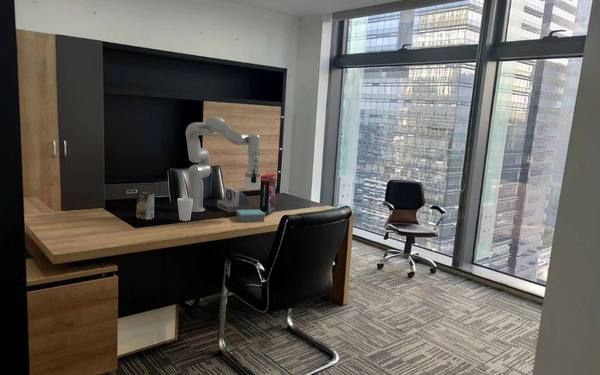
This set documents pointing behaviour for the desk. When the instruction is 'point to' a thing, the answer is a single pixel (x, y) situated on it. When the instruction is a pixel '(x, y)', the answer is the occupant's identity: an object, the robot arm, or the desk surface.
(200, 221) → the desk surface
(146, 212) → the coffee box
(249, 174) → the carton
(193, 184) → the robot arm
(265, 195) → the graphics card box
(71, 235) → the desk surface
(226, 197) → the instant camera
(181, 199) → the foam cup
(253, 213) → the podium
